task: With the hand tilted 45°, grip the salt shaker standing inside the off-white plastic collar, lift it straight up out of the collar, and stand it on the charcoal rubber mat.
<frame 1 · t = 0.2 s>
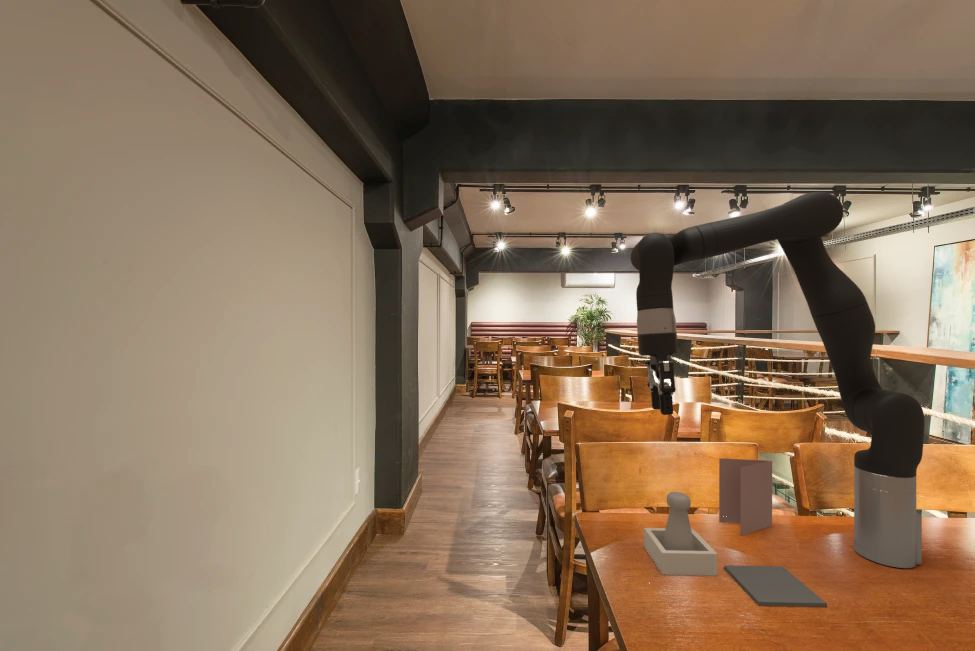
hand: (662, 411, 89), 28 cm above the table, tool pointing down, fingers open, 8 cm apart
collar: (678, 560, 85), on the table
salt shaker: (678, 561, 85), resting in collar
mat: (771, 586, 77), on the table
greeting card: (750, 530, 99), on the table
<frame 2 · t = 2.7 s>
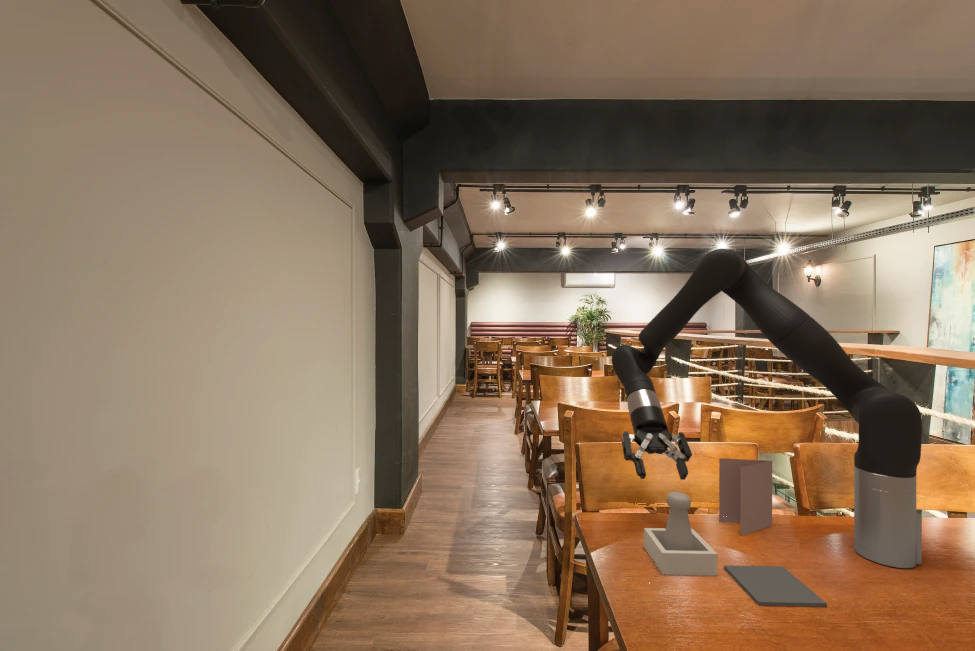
hand: (663, 477, 93), 14 cm above the table, tool tilted 45°, fingers open, 8 cm apart
nothing on the table moved.
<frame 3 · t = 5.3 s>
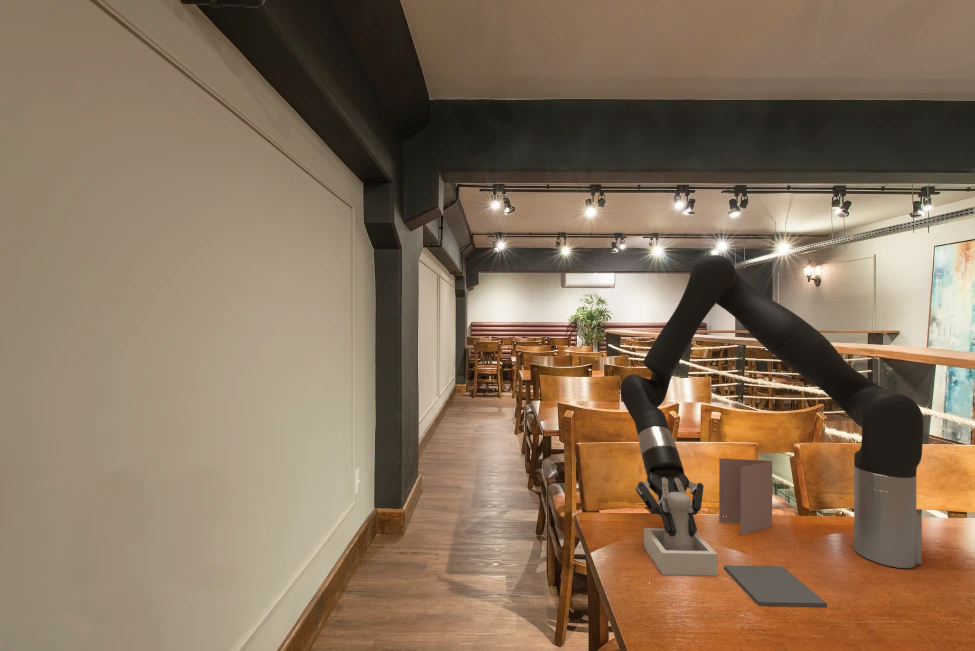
hand: (682, 534, 83), 6 cm above the table, tool tilted 45°, fingers closed on salt shaker, 3 cm apart
salt shaker: (678, 561, 85), resting in collar, touching gripper
everything else where it was.
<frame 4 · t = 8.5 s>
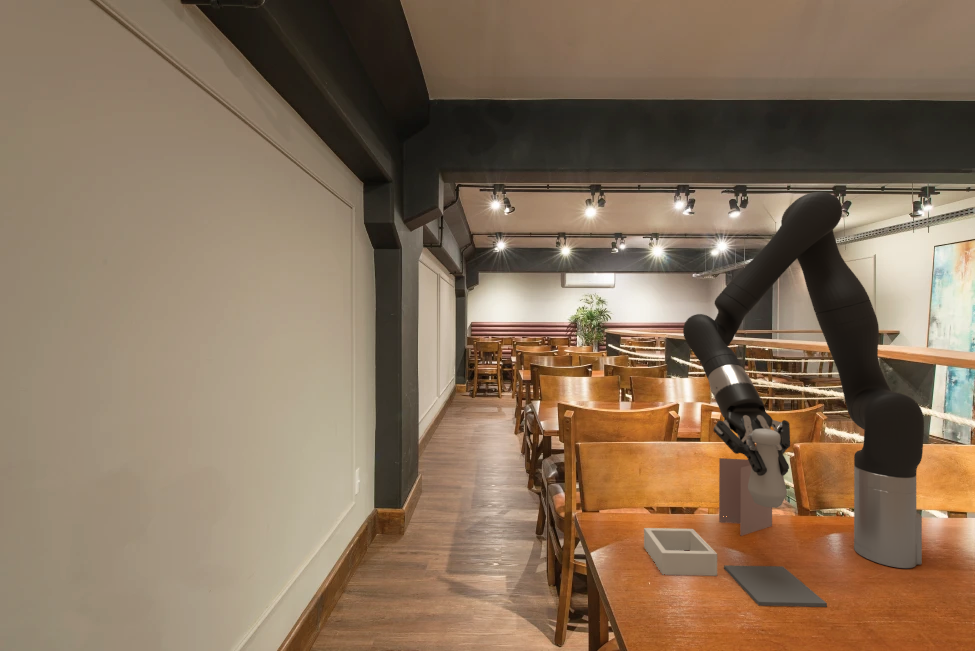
hand: (773, 473, 76), 20 cm above the table, tool tilted 45°, fingers closed on salt shaker, 3 cm apart
salt shaker: (767, 504, 78), point 14 cm above the table, touching gripper
everything else where it was.
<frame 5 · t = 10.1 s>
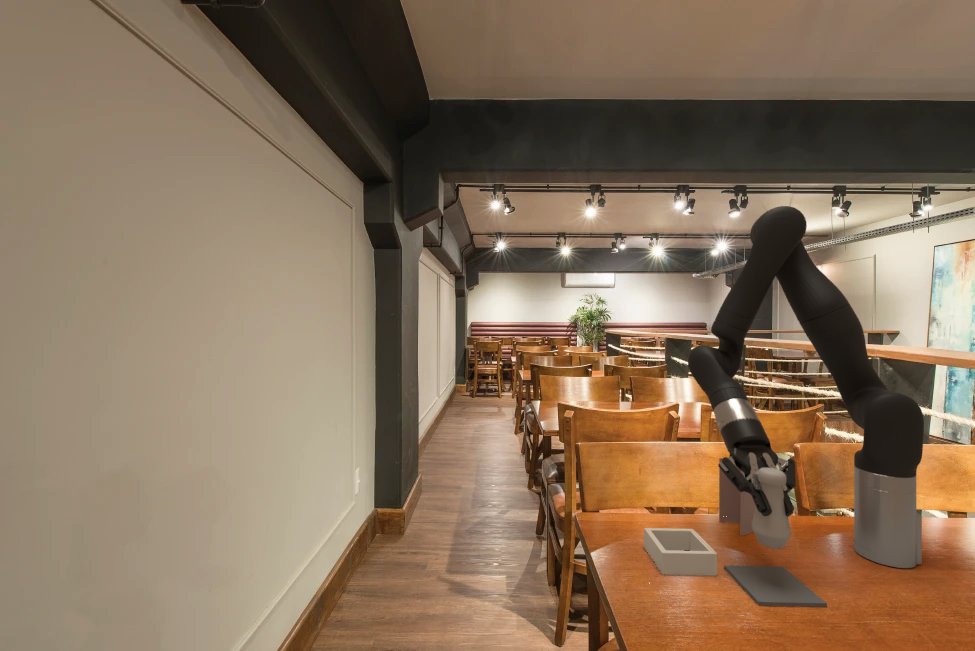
hand: (778, 514, 75), 13 cm above the table, tool tilted 45°, fingers closed on salt shaker, 3 cm apart
salt shaker: (770, 544, 77), point 7 cm above the table, touching gripper
everything else where it was.
when the fingers open (8 cm above the table, at t = 11.5 s): salt shaker stays where it is, resting on mat.
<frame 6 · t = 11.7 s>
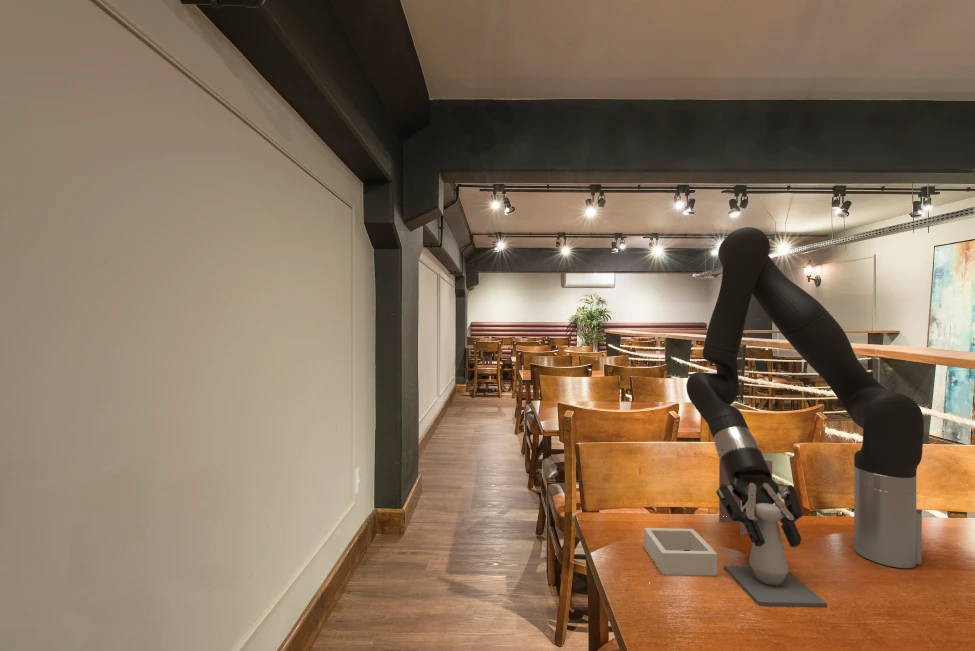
hand: (778, 544, 75), 8 cm above the table, tool tilted 45°, fingers open, 5 cm apart
salt shaker: (768, 580, 78), point 1 cm above the table, touching mat
everything else where it was.
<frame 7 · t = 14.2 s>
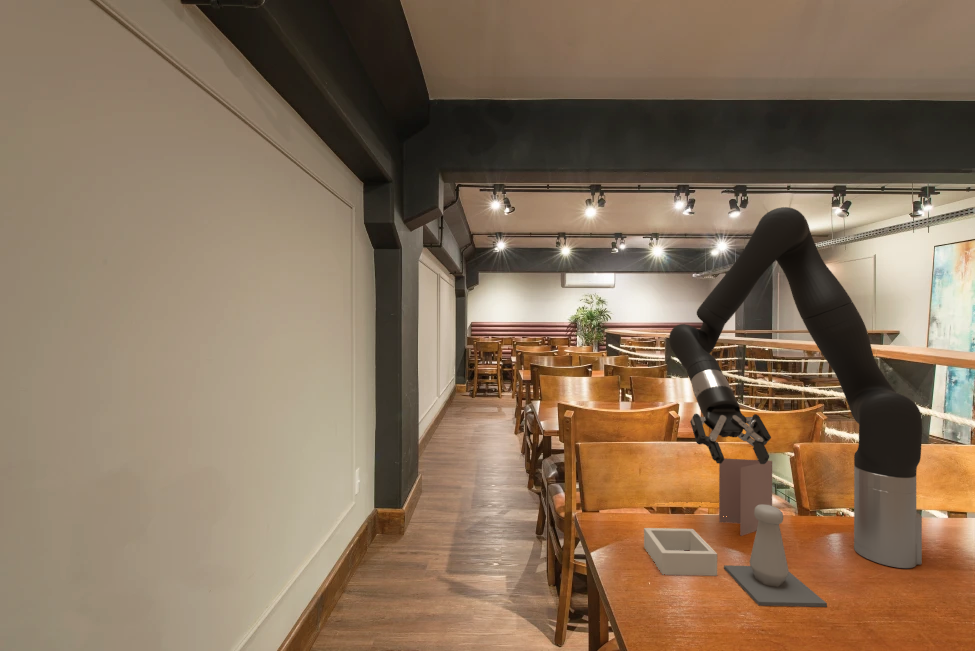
hand: (742, 462, 86), 19 cm above the table, tool tilted 45°, fingers open, 8 cm apart
nothing on the table moved.
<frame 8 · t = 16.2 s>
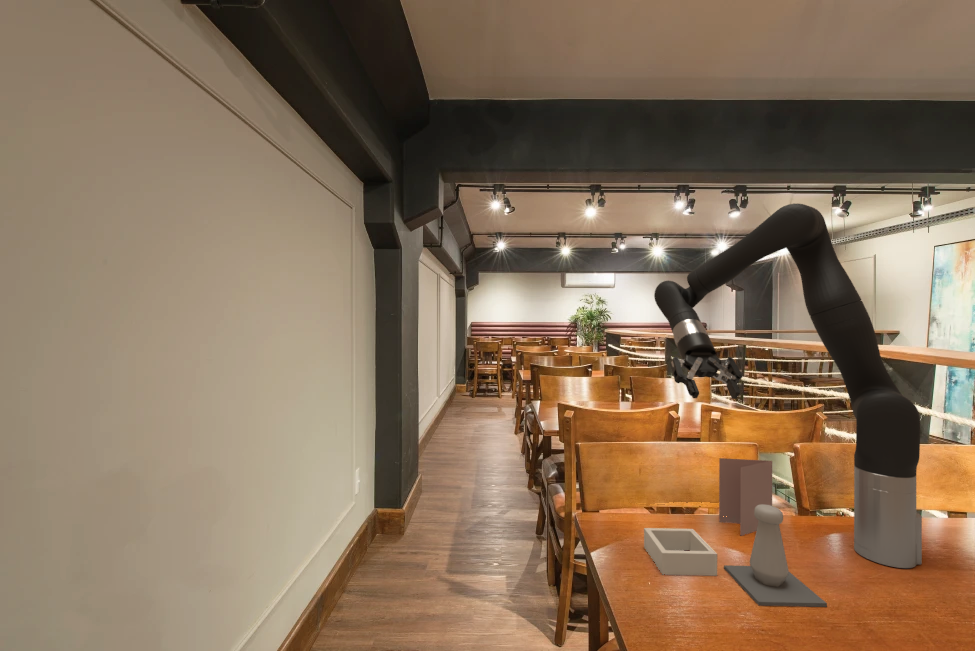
hand: (716, 396, 95), 31 cm above the table, tool tilted 45°, fingers open, 8 cm apart
nothing on the table moved.
at the end: salt shaker 0.8 cm off-centre on the mat, point 0.4 cm above the mat's base; salt shaker tilted 0°; the gripper is holding nothing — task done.
